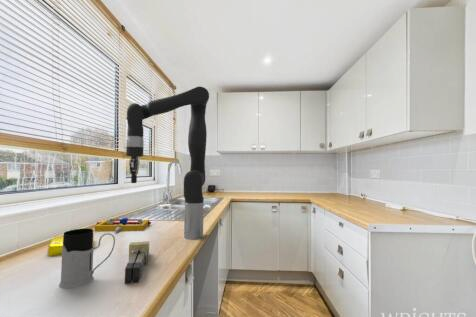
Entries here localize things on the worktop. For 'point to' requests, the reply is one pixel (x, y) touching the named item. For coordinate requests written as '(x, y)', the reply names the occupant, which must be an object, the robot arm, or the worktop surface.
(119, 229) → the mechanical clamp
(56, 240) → the element tile
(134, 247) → the tan framed block
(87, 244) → the glass holder
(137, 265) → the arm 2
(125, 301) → the worktop surface
